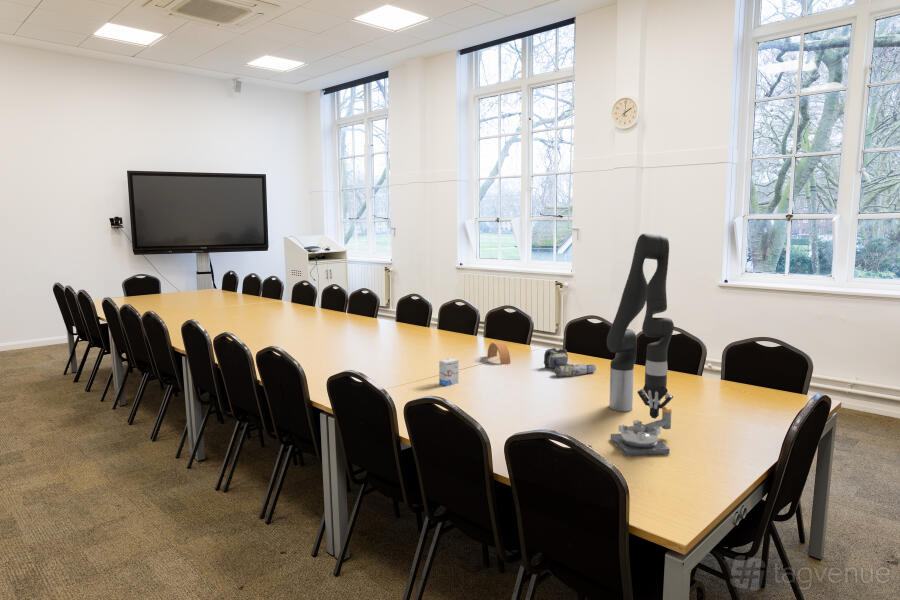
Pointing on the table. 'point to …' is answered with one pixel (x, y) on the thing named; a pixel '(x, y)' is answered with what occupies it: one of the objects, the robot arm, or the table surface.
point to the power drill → (564, 363)
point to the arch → (502, 352)
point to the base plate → (639, 448)
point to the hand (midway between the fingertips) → (654, 417)
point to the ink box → (448, 371)
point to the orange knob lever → (645, 430)
